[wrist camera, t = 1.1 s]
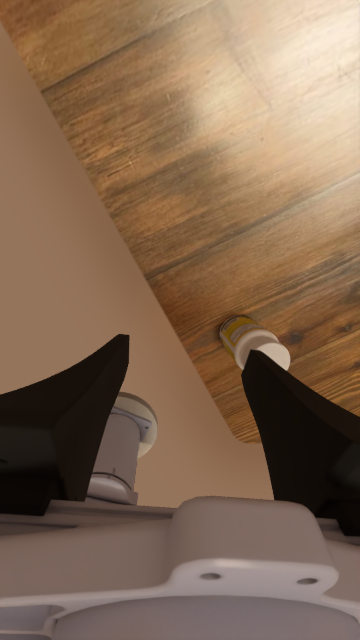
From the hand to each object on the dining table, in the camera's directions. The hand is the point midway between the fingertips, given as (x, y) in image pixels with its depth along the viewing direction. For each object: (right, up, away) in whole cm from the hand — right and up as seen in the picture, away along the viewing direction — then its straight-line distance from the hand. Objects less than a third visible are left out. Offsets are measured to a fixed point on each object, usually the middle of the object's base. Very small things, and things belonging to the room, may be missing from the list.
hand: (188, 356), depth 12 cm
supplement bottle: (+7, +1, +14) cm, 16 cm away
